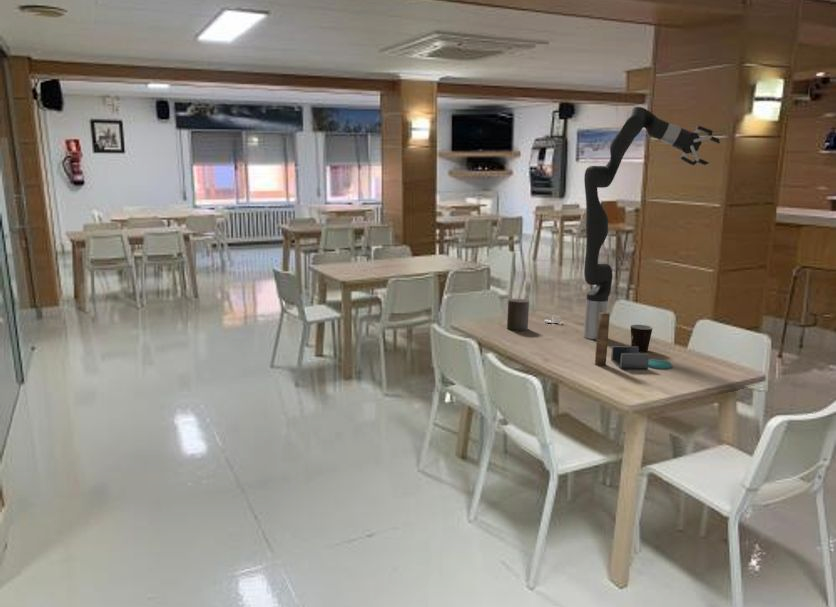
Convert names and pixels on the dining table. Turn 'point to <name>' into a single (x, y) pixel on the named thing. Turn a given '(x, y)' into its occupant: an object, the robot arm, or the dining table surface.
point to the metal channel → (629, 358)
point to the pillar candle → (518, 314)
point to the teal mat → (659, 364)
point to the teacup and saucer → (553, 319)
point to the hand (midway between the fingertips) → (713, 153)
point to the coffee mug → (641, 336)
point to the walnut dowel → (602, 339)
